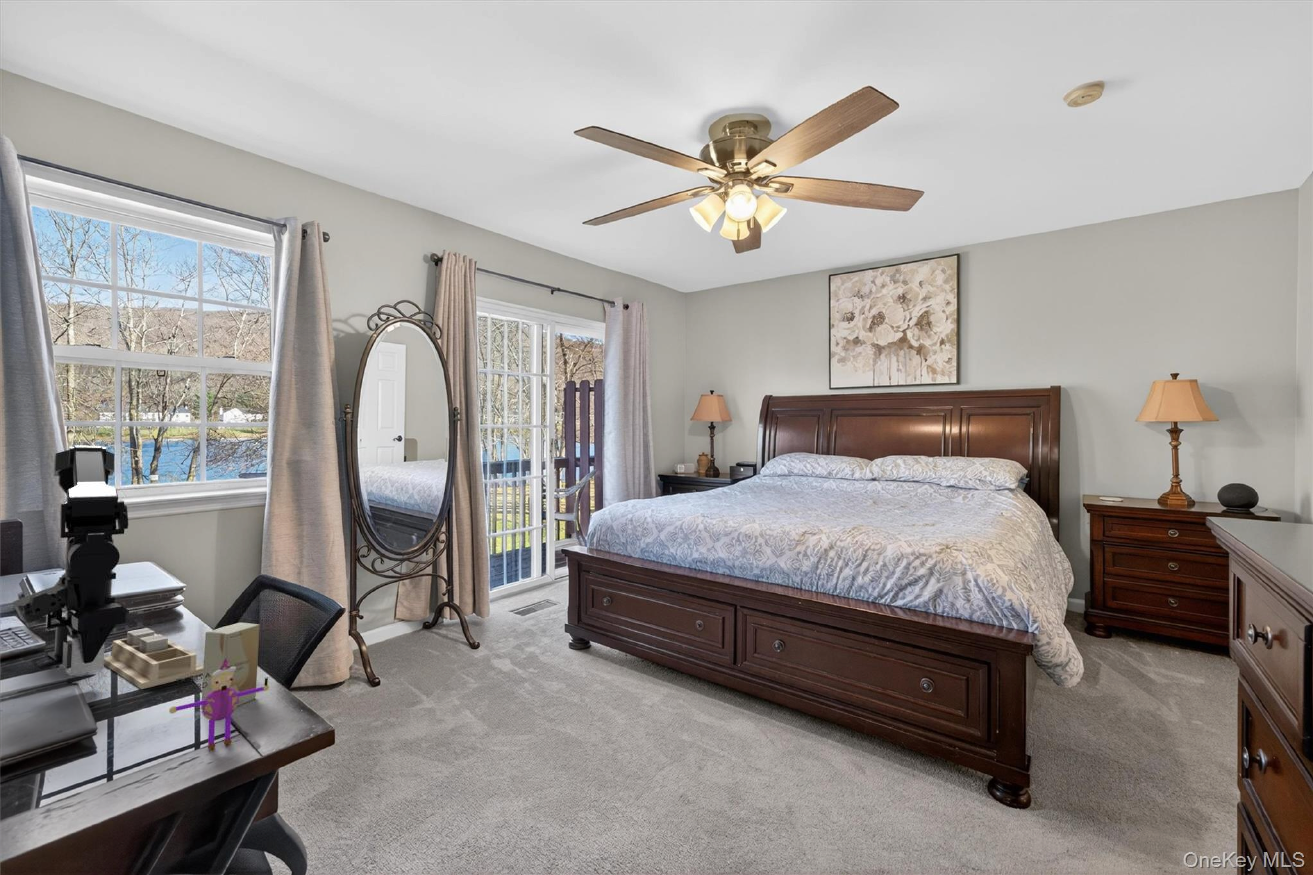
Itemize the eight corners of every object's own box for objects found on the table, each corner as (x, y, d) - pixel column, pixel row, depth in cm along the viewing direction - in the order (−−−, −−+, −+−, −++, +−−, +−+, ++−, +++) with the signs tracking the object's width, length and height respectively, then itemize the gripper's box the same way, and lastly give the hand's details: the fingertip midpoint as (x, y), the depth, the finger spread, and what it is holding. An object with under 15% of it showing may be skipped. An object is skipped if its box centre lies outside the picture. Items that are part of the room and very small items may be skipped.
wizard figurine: (168, 764, 76) (172, 671, 76) (165, 755, 78) (169, 665, 78) (269, 735, 84) (273, 651, 84) (264, 728, 86) (267, 646, 86)
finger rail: (102, 662, 111) (103, 633, 111) (161, 650, 118) (162, 622, 118) (141, 689, 99) (143, 656, 99) (204, 673, 107) (206, 642, 107)
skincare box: (222, 714, 90) (225, 634, 91) (199, 711, 91) (202, 632, 92) (258, 697, 97) (261, 623, 97) (236, 694, 98) (239, 621, 98)
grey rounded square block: (66, 676, 96) (68, 639, 96) (61, 672, 97) (63, 636, 98) (103, 668, 99) (105, 632, 100) (97, 664, 101) (99, 629, 101)
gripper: (6, 568, 97) (2, 662, 97) (35, 583, 87) (30, 689, 87) (96, 559, 107) (92, 645, 106) (132, 571, 97) (127, 667, 96)
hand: (85, 660), depth 99 cm, fingers closed on grey rounded square block, 3 cm apart
